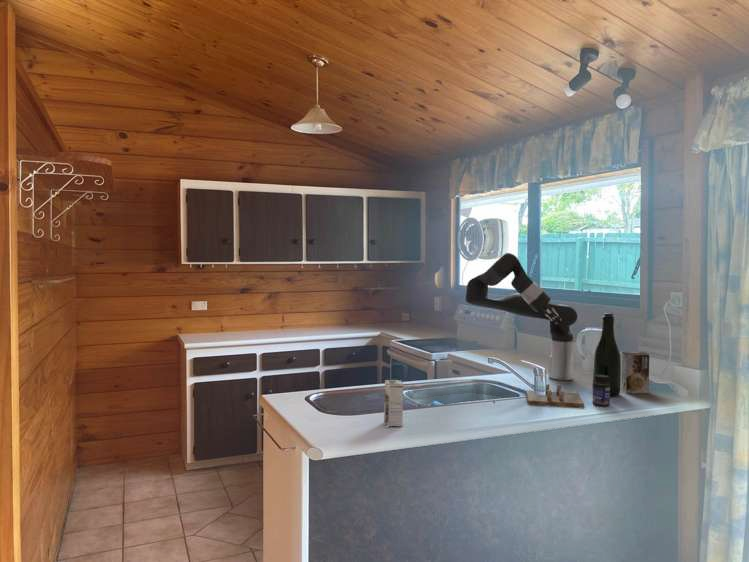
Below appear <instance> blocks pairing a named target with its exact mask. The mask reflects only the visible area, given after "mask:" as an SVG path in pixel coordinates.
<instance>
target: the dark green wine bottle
mask: <svg viewBox="0 0 749 562" xmlns="http://www.w3.org/2000/svg"><path fill="white" fill-rule="evenodd" d="M601 329H602V330H601V333H600V334H601V335H600V339H599V341H598V343H597V345H596V348H595V351H594V353H593V354H594V355H593V356H594V357H593V369H592V384H593V383H594V382H595V381H596V379H595V375H606V376H608V377H609V380H608V382H609V383H610V398H612V397H615V398H616V397H618V396H620V394H621V381H622V358H621V353H620V349H619V345H618V344H617V340H616V337H615V317H614V313H612V312H605V313H603V316H602V328H601Z"/></svg>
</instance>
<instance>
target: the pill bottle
mask: <svg viewBox="0 0 749 562" xmlns="http://www.w3.org/2000/svg"><path fill="white" fill-rule="evenodd" d="M595 379H596V381H595V382H594V383H593V382H592V405H594V406H596V407H604V408H605V407H609V406H611V405H610V404H611V403H610V401H611V399H610V398H611V397H610V383H609V382H608V380H609V377H608V376H606V375H595Z"/></svg>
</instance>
